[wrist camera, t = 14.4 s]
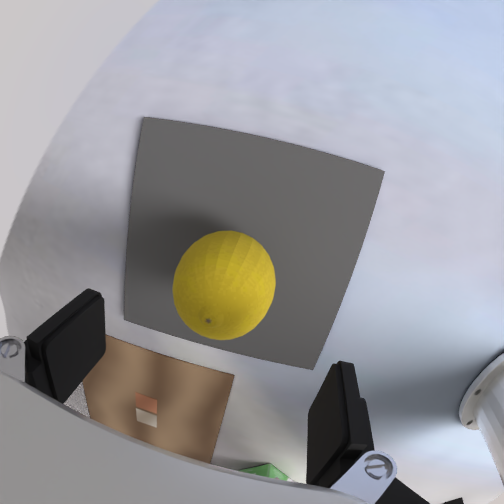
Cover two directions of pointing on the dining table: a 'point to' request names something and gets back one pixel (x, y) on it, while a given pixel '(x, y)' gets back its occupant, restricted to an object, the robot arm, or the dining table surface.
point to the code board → (158, 399)
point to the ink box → (267, 472)
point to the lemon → (224, 285)
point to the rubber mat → (247, 229)
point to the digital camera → (455, 501)
